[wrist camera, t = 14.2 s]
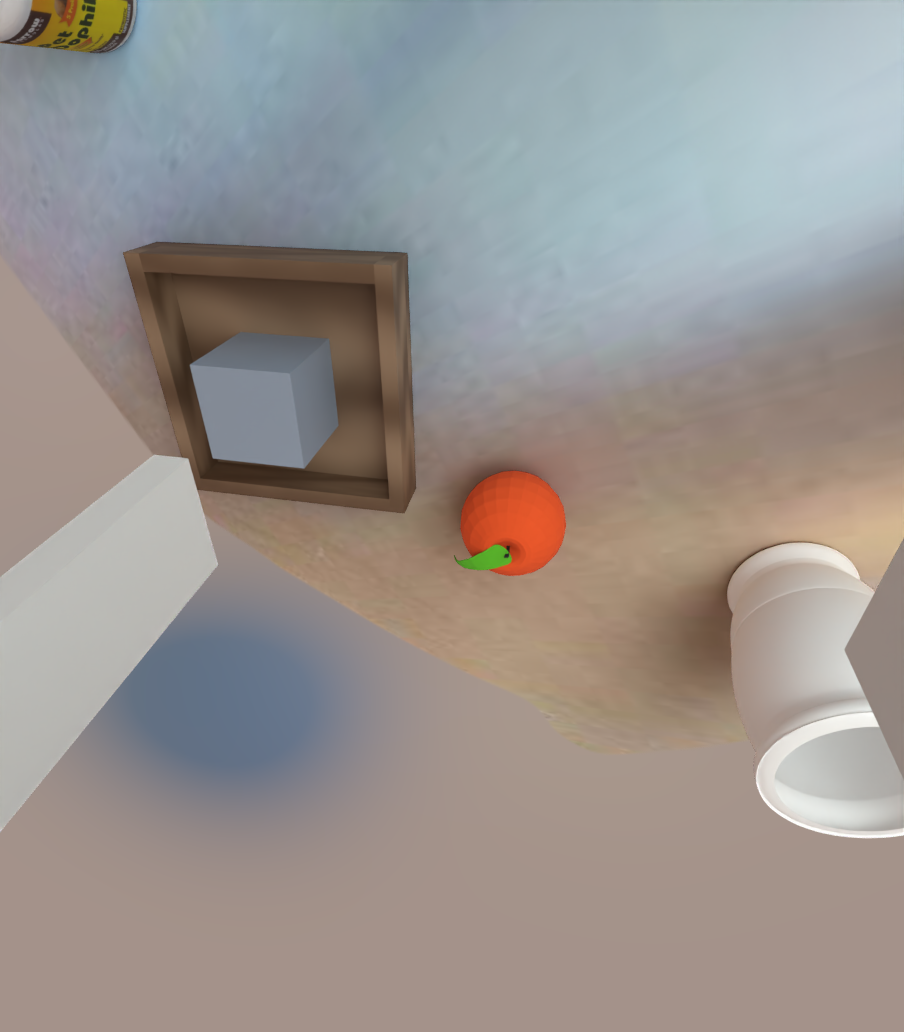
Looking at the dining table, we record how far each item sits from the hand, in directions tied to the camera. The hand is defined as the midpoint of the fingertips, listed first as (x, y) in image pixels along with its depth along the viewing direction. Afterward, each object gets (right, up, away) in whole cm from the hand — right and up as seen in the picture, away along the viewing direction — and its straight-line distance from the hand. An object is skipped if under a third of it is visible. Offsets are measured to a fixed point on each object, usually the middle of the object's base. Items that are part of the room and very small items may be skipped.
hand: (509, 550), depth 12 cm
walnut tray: (-12, +10, +29) cm, 33 cm away
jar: (+23, -4, +31) cm, 39 cm away
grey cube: (-12, +10, +28) cm, 32 cm away
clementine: (+3, +2, +31) cm, 31 cm away
